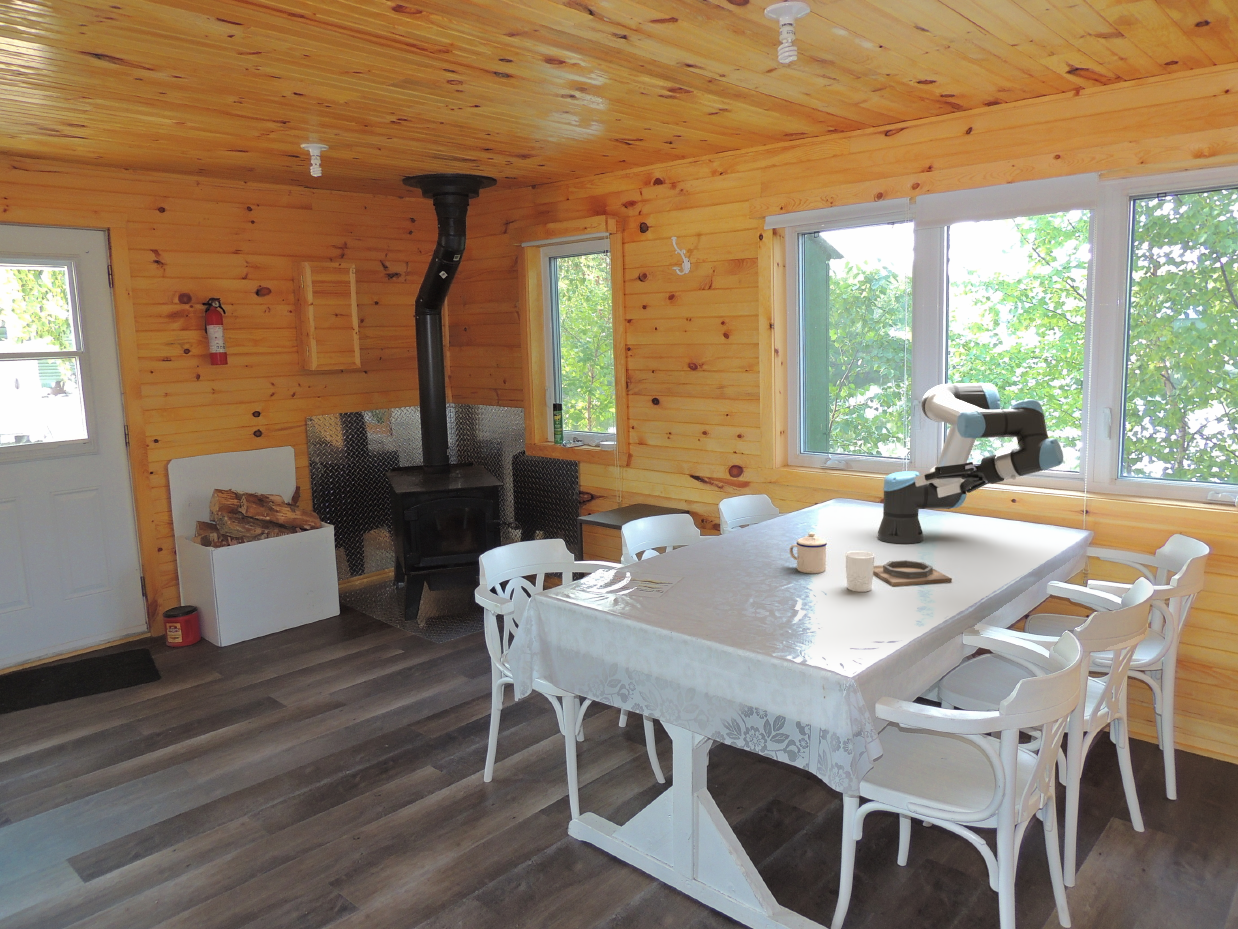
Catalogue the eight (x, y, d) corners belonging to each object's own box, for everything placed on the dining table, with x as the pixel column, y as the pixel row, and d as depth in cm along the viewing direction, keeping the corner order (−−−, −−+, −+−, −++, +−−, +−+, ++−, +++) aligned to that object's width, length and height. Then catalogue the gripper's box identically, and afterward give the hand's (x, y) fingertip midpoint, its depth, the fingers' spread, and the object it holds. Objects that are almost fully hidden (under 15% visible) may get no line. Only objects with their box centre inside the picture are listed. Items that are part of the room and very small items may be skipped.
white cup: (841, 585, 257) (841, 551, 255) (867, 584, 257) (868, 550, 256) (850, 593, 249) (851, 558, 248) (878, 592, 250) (878, 557, 248)
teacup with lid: (831, 569, 274) (832, 532, 273) (817, 575, 267) (817, 537, 266) (797, 563, 282) (797, 527, 280) (782, 569, 275) (782, 532, 273)
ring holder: (866, 570, 272) (866, 560, 272) (921, 566, 275) (921, 556, 274) (892, 586, 255) (892, 576, 254) (951, 582, 257) (951, 572, 257)
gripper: (983, 468, 231) (907, 489, 245) (1021, 491, 248) (949, 509, 262) (978, 442, 234) (904, 464, 248) (1016, 466, 251) (945, 485, 264)
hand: (927, 487), depth 255 cm, fingers open, 13 cm apart
